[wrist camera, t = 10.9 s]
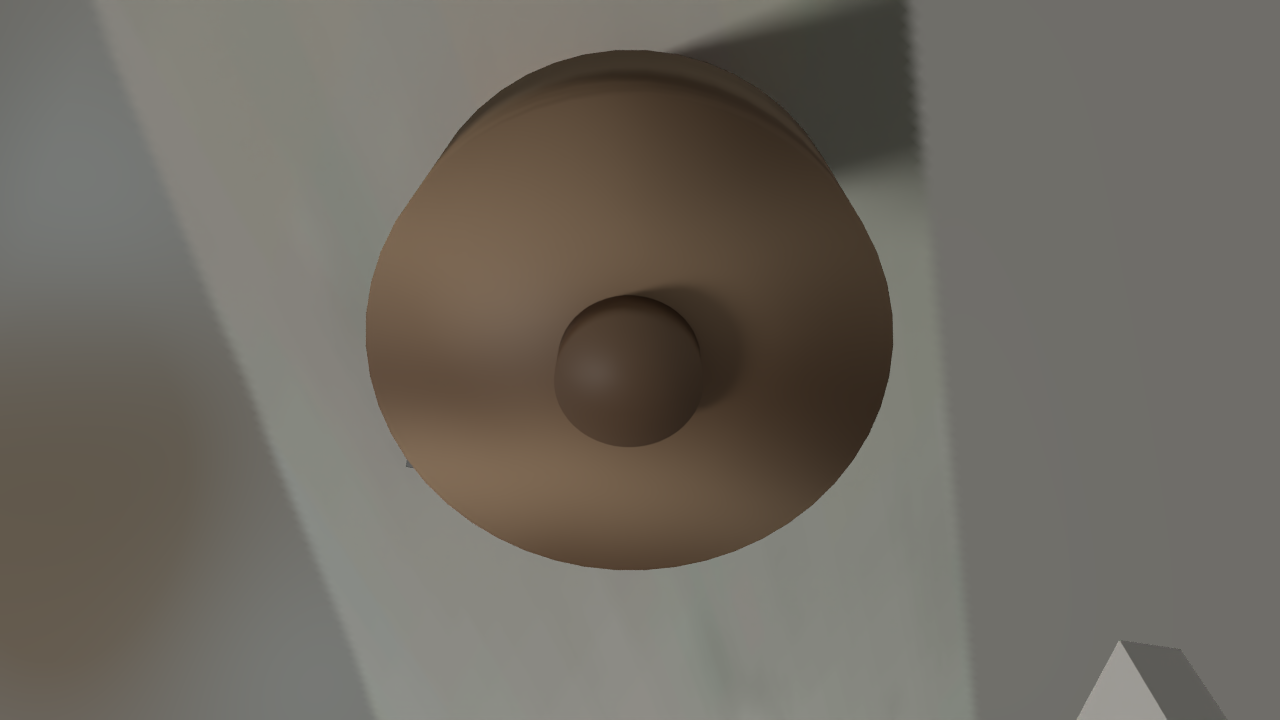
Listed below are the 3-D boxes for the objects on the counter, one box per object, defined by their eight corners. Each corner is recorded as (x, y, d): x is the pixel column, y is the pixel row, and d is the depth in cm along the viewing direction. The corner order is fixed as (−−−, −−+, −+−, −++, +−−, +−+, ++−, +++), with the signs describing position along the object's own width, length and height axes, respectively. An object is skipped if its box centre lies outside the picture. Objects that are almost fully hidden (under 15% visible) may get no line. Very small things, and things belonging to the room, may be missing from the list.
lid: (439, 5, 22) (374, 50, 17) (906, 101, 23) (984, 173, 18) (396, 418, 27) (336, 555, 22) (784, 485, 28) (817, 632, 23)
